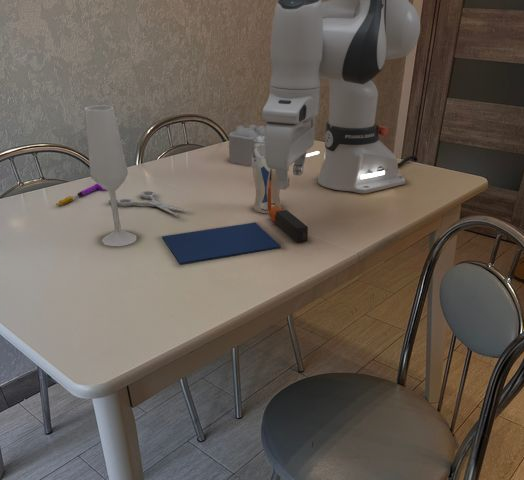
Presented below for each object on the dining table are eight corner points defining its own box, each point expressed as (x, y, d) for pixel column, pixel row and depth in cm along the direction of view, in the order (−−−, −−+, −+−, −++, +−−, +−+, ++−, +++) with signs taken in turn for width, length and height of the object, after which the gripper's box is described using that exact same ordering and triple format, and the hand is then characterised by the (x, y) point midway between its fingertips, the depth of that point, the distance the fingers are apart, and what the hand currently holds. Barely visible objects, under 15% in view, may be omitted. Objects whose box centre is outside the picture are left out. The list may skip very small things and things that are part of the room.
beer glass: (245, 207, 120) (245, 138, 112) (269, 201, 124) (270, 133, 115) (265, 216, 116) (266, 144, 107) (289, 209, 119) (291, 139, 111)
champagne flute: (137, 244, 103) (118, 111, 89) (101, 247, 102) (77, 112, 88) (136, 231, 108) (119, 103, 95) (102, 233, 107) (80, 104, 93)
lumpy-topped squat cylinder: (224, 161, 150) (223, 129, 146) (247, 151, 160) (247, 120, 155) (256, 167, 146) (256, 133, 141) (278, 156, 156) (279, 124, 151)
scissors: (143, 188, 128) (204, 206, 118) (143, 191, 128) (205, 209, 118) (108, 200, 121) (170, 220, 111) (108, 203, 121) (170, 223, 111)
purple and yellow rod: (101, 185, 131) (55, 206, 120) (101, 180, 131) (55, 201, 119) (110, 189, 131) (65, 210, 119) (110, 184, 130) (64, 205, 118)
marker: (268, 220, 114) (268, 206, 112) (281, 218, 115) (281, 204, 113) (297, 245, 104) (298, 230, 102) (310, 242, 105) (311, 228, 103)
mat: (255, 224, 112) (255, 222, 112) (280, 247, 102) (281, 245, 102) (162, 238, 106) (162, 236, 106) (180, 264, 96) (179, 262, 96)
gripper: (294, 93, 104) (291, 165, 112) (258, 112, 88) (257, 194, 96) (325, 95, 102) (320, 168, 110) (295, 115, 86) (291, 199, 94)
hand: (291, 181), depth 103 cm, fingers open, 8 cm apart
